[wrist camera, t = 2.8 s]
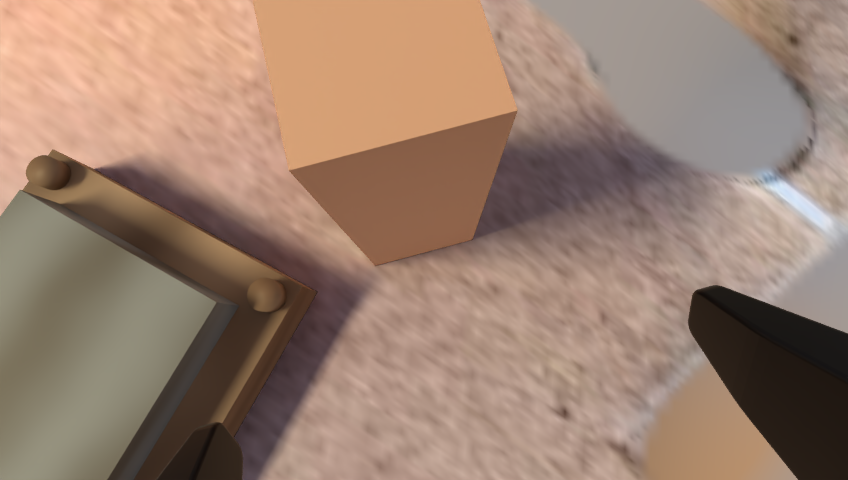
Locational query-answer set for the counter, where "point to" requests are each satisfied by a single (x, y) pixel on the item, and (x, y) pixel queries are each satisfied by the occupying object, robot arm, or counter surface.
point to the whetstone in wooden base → (124, 328)
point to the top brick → (389, 115)
